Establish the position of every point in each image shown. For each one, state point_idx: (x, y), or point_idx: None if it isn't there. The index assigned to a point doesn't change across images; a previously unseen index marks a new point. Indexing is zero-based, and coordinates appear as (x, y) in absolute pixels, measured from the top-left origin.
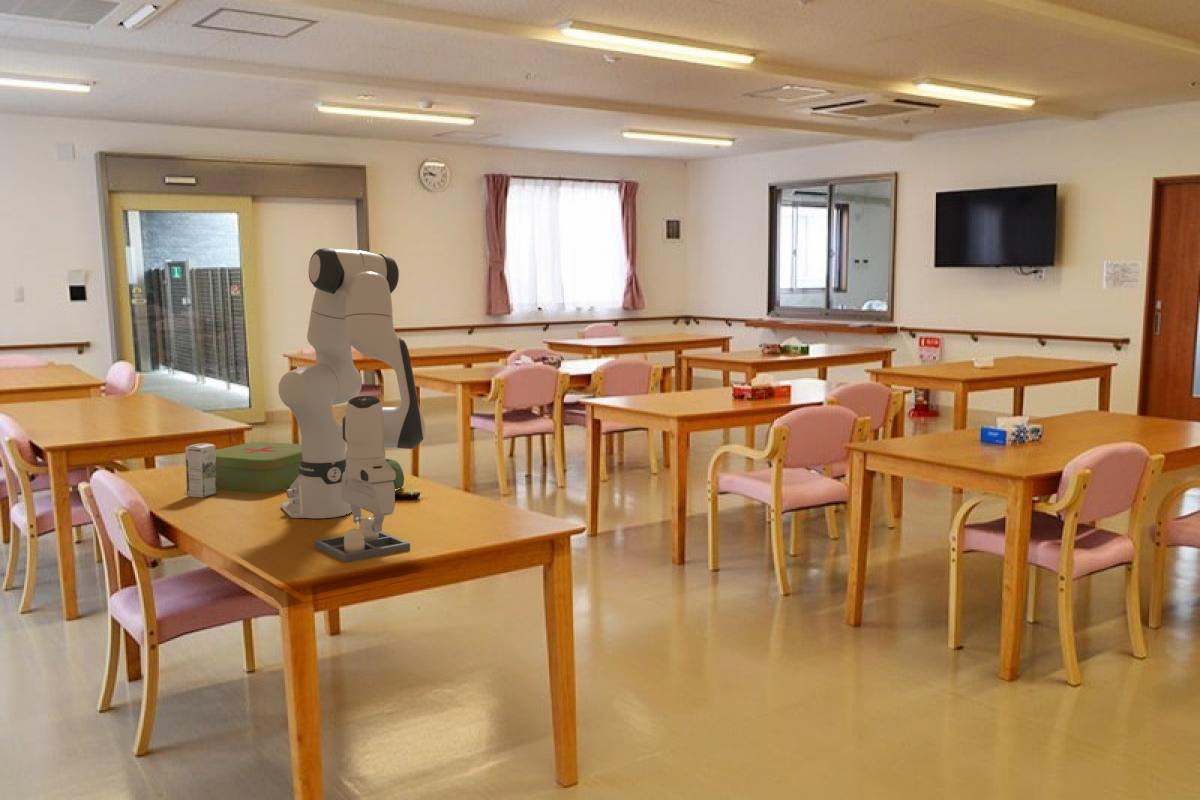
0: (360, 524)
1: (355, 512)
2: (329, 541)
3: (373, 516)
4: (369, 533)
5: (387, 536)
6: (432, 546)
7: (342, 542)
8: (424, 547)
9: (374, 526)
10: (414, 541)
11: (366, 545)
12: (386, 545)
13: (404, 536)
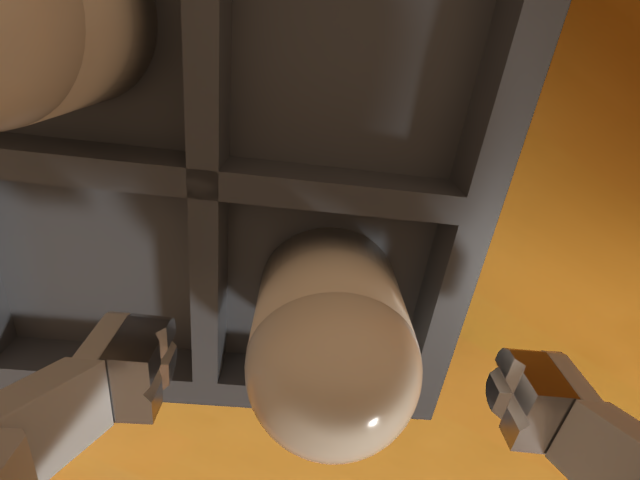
0: (355, 323)
1: (606, 448)
2: (512, 12)
3: (10, 443)
4: (261, 305)
5: (231, 382)
6: (99, 461)
7: (461, 141)
8: (104, 434)
9: (82, 345)
10: (242, 455)
11: (80, 154)
12: (175, 315)
13: (360, 467)
